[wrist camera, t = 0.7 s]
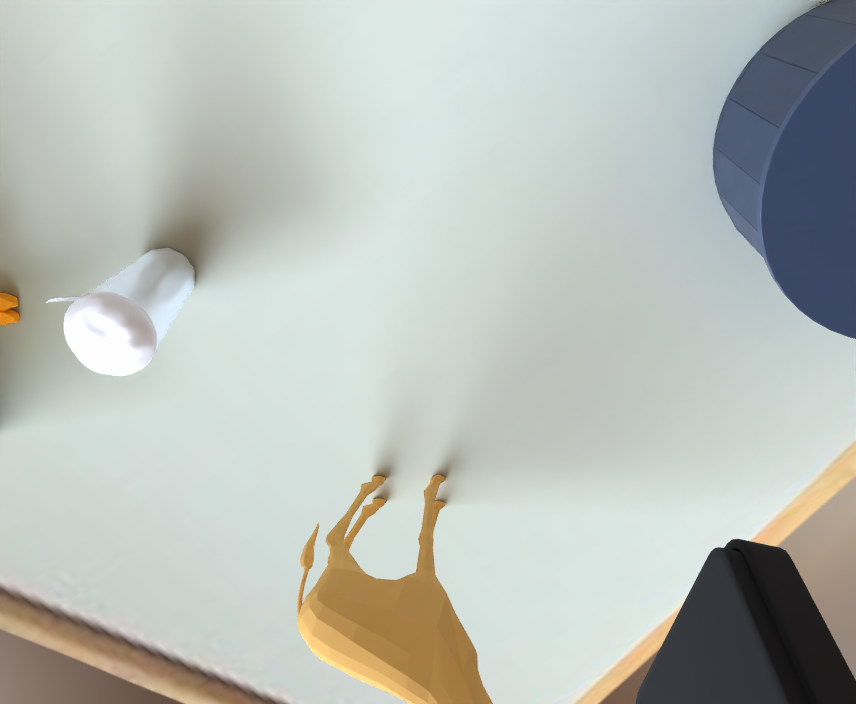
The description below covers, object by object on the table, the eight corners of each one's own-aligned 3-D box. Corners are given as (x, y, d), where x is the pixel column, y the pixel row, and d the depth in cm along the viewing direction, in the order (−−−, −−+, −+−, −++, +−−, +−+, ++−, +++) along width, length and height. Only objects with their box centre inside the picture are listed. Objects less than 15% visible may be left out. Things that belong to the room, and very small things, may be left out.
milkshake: (168, 210, 42) (88, 279, 33) (222, 289, 44) (159, 373, 36) (105, 244, 43) (12, 319, 35) (160, 319, 46) (85, 407, 37)
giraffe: (565, 469, 49) (640, 889, 27) (560, 521, 51) (624, 950, 29) (318, 461, 50) (196, 862, 28) (322, 512, 52) (211, 924, 30)
